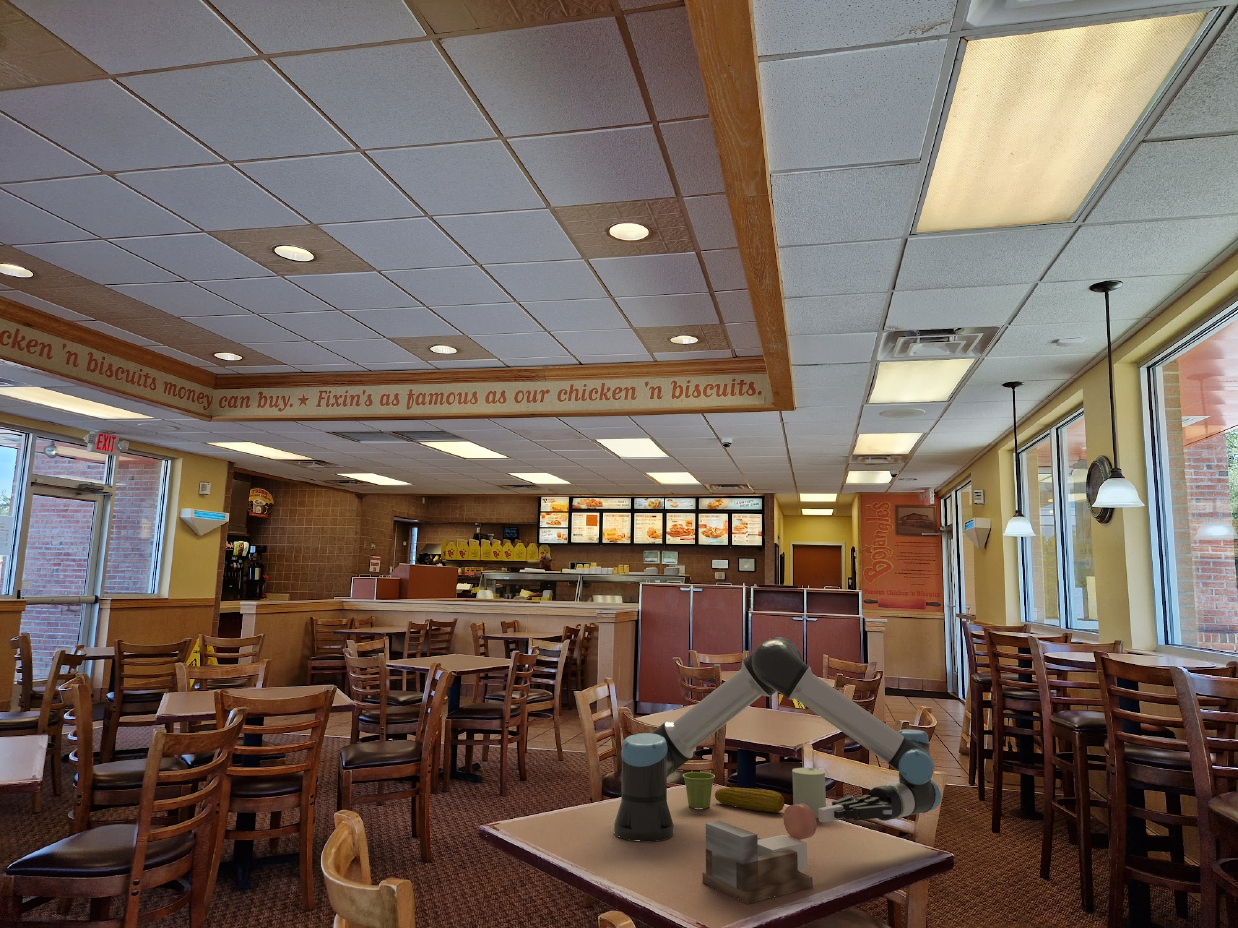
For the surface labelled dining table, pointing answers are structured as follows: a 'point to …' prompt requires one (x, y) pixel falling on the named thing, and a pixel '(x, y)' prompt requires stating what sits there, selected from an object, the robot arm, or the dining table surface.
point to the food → (751, 799)
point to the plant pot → (699, 788)
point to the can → (809, 788)
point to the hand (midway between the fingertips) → (821, 815)
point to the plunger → (792, 834)
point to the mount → (749, 866)
